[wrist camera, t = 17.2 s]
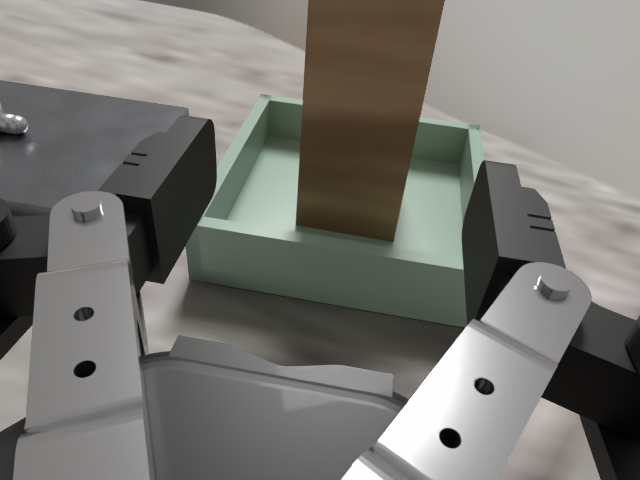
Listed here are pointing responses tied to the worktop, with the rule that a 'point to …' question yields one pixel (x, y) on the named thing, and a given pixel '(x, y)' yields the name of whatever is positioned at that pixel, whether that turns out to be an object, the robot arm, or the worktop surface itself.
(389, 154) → the brown wooden block
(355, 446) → the robot arm
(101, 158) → the crank bed
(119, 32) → the worktop surface
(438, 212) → the tray
